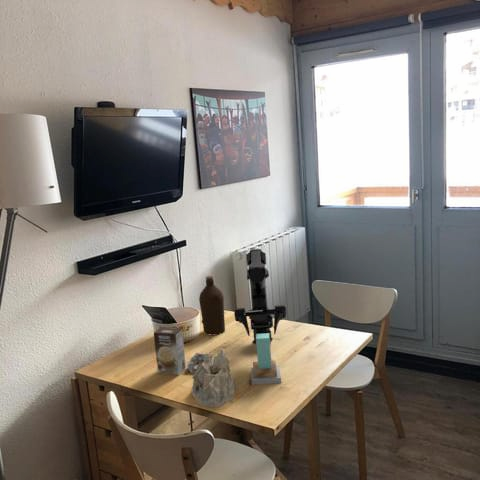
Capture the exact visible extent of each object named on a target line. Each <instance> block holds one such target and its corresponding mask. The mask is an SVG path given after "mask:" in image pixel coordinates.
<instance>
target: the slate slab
mask: <svg viewBox="0 0 480 480" xmlns="http://www.w3.org/2000/svg"><path fill="white" fill-rule="evenodd" d="M276 369H277V377H268V378H254V375H253V366H252V367H251V368H250V370H251V371H250V373H251V386H252V385H264V384H267V385H268V384H277V383H282V376H281V370H280V365H276Z"/></svg>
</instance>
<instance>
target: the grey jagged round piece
mask: <svg viewBox="0 0 480 480" xmlns="http://www.w3.org/2000/svg"><path fill="white" fill-rule="evenodd" d="M203 354H204V362H203V364H202V365H201V366H200V368H199V369H198V371H195V372H194V374H193V375H192V377H191V378H192V379H193V382H192V387H191V394H192V396H193V397H194V398H195V400H196V401H197V403H198V404H199V405H200V406H203V407H211V408H218V407H221V406H223V405H225V404H226V403H228V402H229V401H231V400H233V398H234V397H235V393H236V389H235V385H234V382H233V377H232V374H231V373H230V372H231V370H230V369H231V368H230V361H229V359H228V356H225V353H224V348H220V350H219V351H218V352H217V355H216V354H215V355H213V357H212V360H211V361H212V364H211V361H210V356H211V355H210V353H209V352H205V353H203Z"/></svg>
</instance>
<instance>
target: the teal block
mask: <svg viewBox="0 0 480 480" xmlns="http://www.w3.org/2000/svg"><path fill="white" fill-rule="evenodd" d="M255 344H256V353H257V355H256V356H257V362H258V369H266V368H271V361H272V353H271V351H272V350H271V341H270V338H269V333H265V334H256V343H255Z"/></svg>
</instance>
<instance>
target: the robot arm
mask: <svg viewBox="0 0 480 480" xmlns="http://www.w3.org/2000/svg"><path fill="white" fill-rule="evenodd" d="M266 255H267V254H266V253H265V252H264V251H262V249H261V248H254V249H253V248H252V249H249V252H248V253H246V255H245V258H246V266H248V269H246V279H247V280H248V281H249V285H250V287H249V288H250V297H251V298H250V299H251V309H248V310H246V309H245V308H246V307H239V308H235V309H234V311H233V314H234V320H235V322H238V323H239V324H242V325H243V326H244V329H245V331H246V333H247V335H248V337H250V335H251V334H250V333H251V332H250V329H251V330H253V331H252V332H253V340H252V341H251V343H252V344H256V334H265V333H269V338H270V342H272V341H273V337H272V330H271V329H272V328H273V334H274V335H276V333H277V329H278V325H279V322H280V321H282V320H283V319H284V318H285V319H286V318H287V307H286V305H285V304H280V305H279V304H278V305H277V304H276V305H274V308H272V309H271V308H270V309H269V307H268V298H267V287H266V279H268V277H270V275H269V270H268V268H267V267H266V265H267V256H266ZM272 315H273V316H274V317H273V316H272ZM247 317H248V319H250V320H249V321H250V328H249V323H248V319H247ZM273 321H274V322H273Z"/></svg>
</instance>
